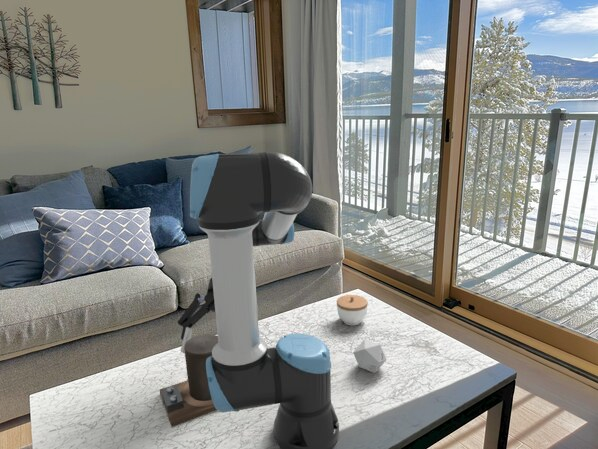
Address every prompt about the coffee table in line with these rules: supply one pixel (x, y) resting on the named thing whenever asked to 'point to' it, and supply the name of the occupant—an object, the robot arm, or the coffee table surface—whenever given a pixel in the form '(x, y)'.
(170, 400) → the dark grey studded block
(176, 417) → the board
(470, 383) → the coffee table surface
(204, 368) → the pillar candle
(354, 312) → the lidded jar
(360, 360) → the die
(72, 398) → the coffee table surface
